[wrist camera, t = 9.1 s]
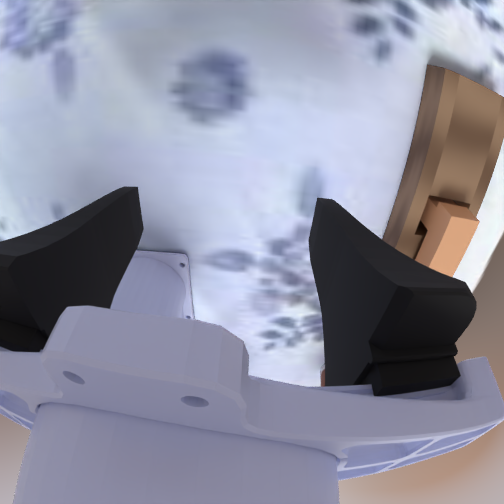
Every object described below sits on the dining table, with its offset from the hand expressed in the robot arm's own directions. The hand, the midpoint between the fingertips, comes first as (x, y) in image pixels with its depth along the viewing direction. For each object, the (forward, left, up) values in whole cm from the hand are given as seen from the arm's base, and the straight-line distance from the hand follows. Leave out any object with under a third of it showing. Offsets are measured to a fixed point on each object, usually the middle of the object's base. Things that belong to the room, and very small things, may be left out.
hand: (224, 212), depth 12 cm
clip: (-6, -16, -10) cm, 20 cm away
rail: (-6, -16, -10) cm, 20 cm away
